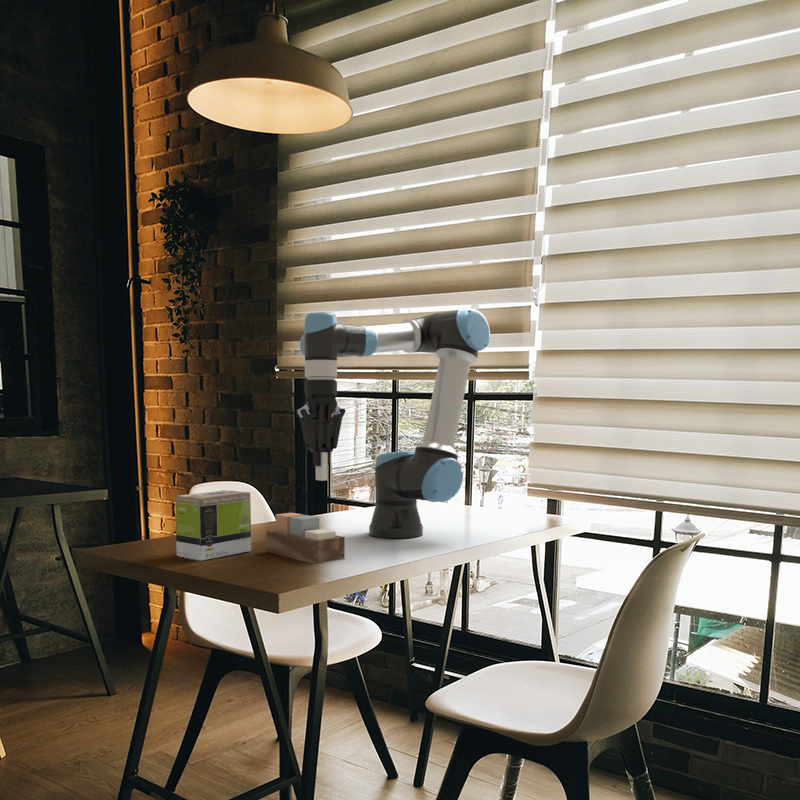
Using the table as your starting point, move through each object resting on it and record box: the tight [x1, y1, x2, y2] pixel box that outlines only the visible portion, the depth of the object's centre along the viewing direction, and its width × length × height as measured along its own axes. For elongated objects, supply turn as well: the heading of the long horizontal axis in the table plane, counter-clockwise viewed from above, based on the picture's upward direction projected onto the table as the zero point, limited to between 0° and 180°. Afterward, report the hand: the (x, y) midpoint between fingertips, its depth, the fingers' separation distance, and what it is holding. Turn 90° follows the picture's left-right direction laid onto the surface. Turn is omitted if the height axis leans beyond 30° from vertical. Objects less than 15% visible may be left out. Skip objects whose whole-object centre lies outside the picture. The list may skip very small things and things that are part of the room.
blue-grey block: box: [290, 514, 320, 537], centre depth 173 cm, size 5×5×6 cm
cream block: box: [305, 528, 336, 540], centre depth 169 cm, size 5×5×6 cm
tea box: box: [175, 489, 252, 562], centre depth 174 cm, size 15×10×15 cm, turn 141°
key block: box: [265, 529, 346, 565], centre depth 173 cm, size 9×19×5 cm, turn 42°
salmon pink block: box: [274, 512, 305, 534], centre depth 178 cm, size 5×5×6 cm
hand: (321, 479), depth 169 cm, fingers closed
